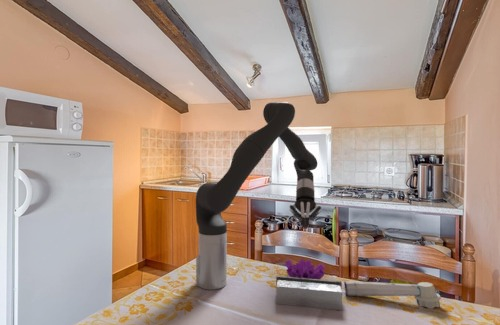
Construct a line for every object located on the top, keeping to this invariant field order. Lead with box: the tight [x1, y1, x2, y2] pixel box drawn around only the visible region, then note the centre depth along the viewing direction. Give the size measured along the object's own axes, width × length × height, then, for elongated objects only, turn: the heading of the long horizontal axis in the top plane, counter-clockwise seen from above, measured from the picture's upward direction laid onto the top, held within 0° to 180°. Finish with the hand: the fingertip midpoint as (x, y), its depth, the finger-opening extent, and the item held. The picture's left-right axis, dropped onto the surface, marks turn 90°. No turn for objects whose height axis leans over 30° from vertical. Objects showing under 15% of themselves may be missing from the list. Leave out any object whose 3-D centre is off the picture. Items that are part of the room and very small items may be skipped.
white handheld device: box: [343, 279, 442, 310], centre depth 83 cm, size 5×7×25 cm
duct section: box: [275, 275, 343, 311], centre depth 82 cm, size 19×6×6 cm, turn 79°
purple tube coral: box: [284, 259, 326, 280], centre depth 95 cm, size 11×15×10 cm
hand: (305, 227), depth 107 cm, fingers closed
